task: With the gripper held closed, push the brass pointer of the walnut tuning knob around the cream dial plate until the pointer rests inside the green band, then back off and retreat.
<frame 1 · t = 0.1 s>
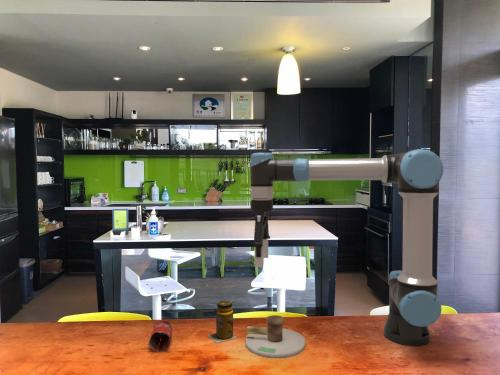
hand: (261, 262, 132), 28 cm above the table, fingers open, 13 cm apart
beverage can: (161, 345, 133), on the table
condiment: (222, 337, 139), on the table
dial plate: (275, 343, 133), on the table
tuning knob: (265, 328, 133), point 5 cm above the table, hinge at 0.0°
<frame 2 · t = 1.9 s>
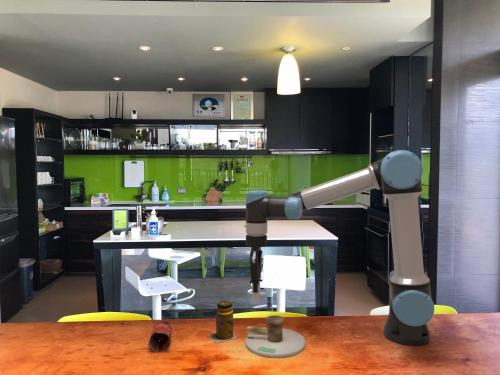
hand: (255, 300, 139), 13 cm above the table, fingers closed
nothing on the table moved.
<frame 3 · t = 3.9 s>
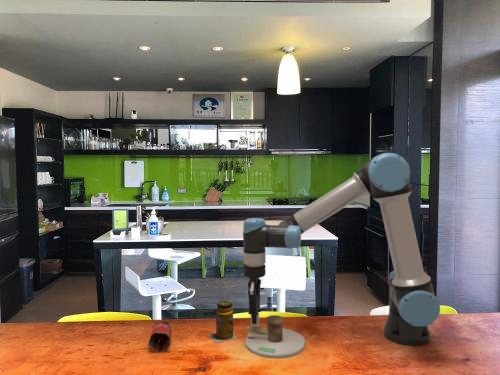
hand: (254, 331, 135), 3 cm above the table, fingers closed
tuning knob: (265, 328, 133), point 5 cm above the table, hinge at 0.1°, touching gripper
everything else where it was.
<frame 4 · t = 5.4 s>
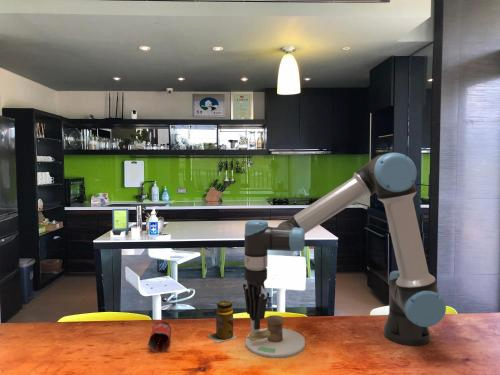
hand: (255, 337, 130), 3 cm above the table, fingers closed
tuning knob: (266, 330, 131), point 5 cm above the table, hinge at 38.0°, touching gripper
everything else where it was.
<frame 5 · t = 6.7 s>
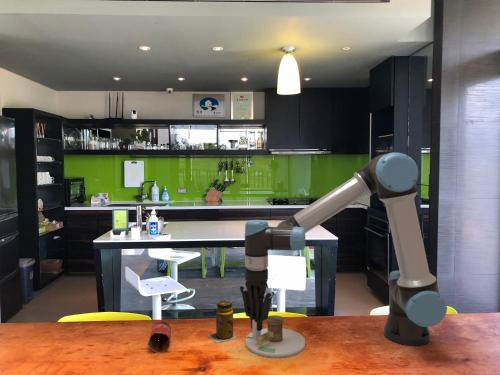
hand: (256, 339, 129), 3 cm above the table, fingers closed
tuning knob: (269, 332, 130), point 5 cm above the table, hinge at 62.9°
everything else where it was.
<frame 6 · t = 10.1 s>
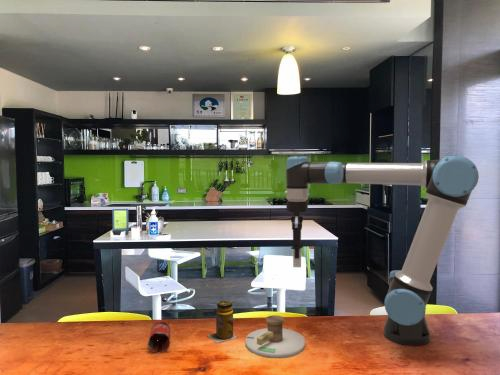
hand: (297, 266, 139), 24 cm above the table, fingers closed
tuning knob: (269, 332, 130), point 5 cm above the table, hinge at 63.3°
everything else where it was.
at the end: tuning knob at +63° (first picture: +0°) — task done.
